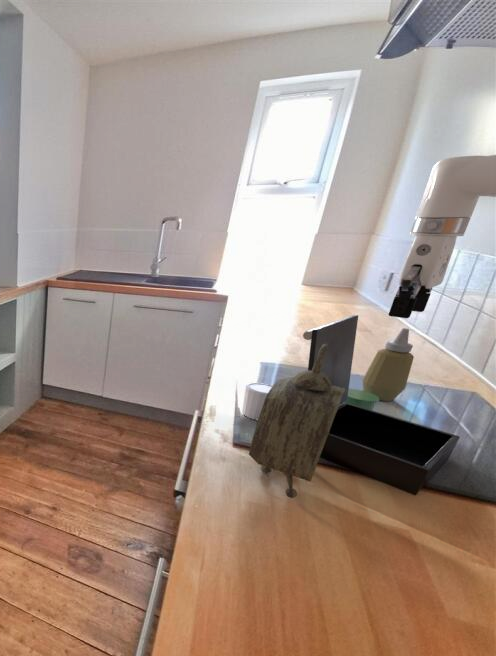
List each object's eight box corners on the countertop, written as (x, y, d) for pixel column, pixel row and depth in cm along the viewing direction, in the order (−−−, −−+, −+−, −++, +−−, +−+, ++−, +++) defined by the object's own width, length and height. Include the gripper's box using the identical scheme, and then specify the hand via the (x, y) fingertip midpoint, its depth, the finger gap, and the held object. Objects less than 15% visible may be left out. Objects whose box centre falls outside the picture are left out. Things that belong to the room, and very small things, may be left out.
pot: (376, 414, 97) (384, 396, 95) (365, 421, 93) (373, 403, 92) (340, 403, 102) (347, 386, 100) (329, 410, 99) (335, 392, 97)
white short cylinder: (232, 412, 98) (239, 385, 95) (250, 406, 101) (257, 380, 98) (261, 424, 92) (269, 396, 89) (279, 418, 95) (288, 390, 92)
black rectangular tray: (446, 462, 78) (460, 436, 76) (413, 499, 69) (428, 470, 66) (335, 425, 92) (344, 402, 90) (294, 451, 82) (303, 425, 80)
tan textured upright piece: (300, 507, 67) (354, 363, 57) (238, 484, 73) (277, 349, 63) (314, 469, 76) (363, 340, 66) (259, 451, 82) (295, 330, 72)
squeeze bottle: (349, 392, 108) (375, 325, 101) (371, 388, 110) (397, 323, 103) (385, 405, 101) (415, 334, 94) (407, 401, 103) (438, 331, 96)
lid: (358, 315, 84) (329, 314, 88) (317, 329, 75) (287, 328, 79) (347, 400, 89) (320, 396, 93) (306, 424, 79) (278, 418, 83)
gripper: (454, 229, 74) (417, 323, 80) (476, 226, 82) (442, 311, 89) (398, 228, 79) (368, 316, 86) (425, 226, 88) (396, 306, 95)
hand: (406, 313), depth 87 cm, fingers open, 9 cm apart
